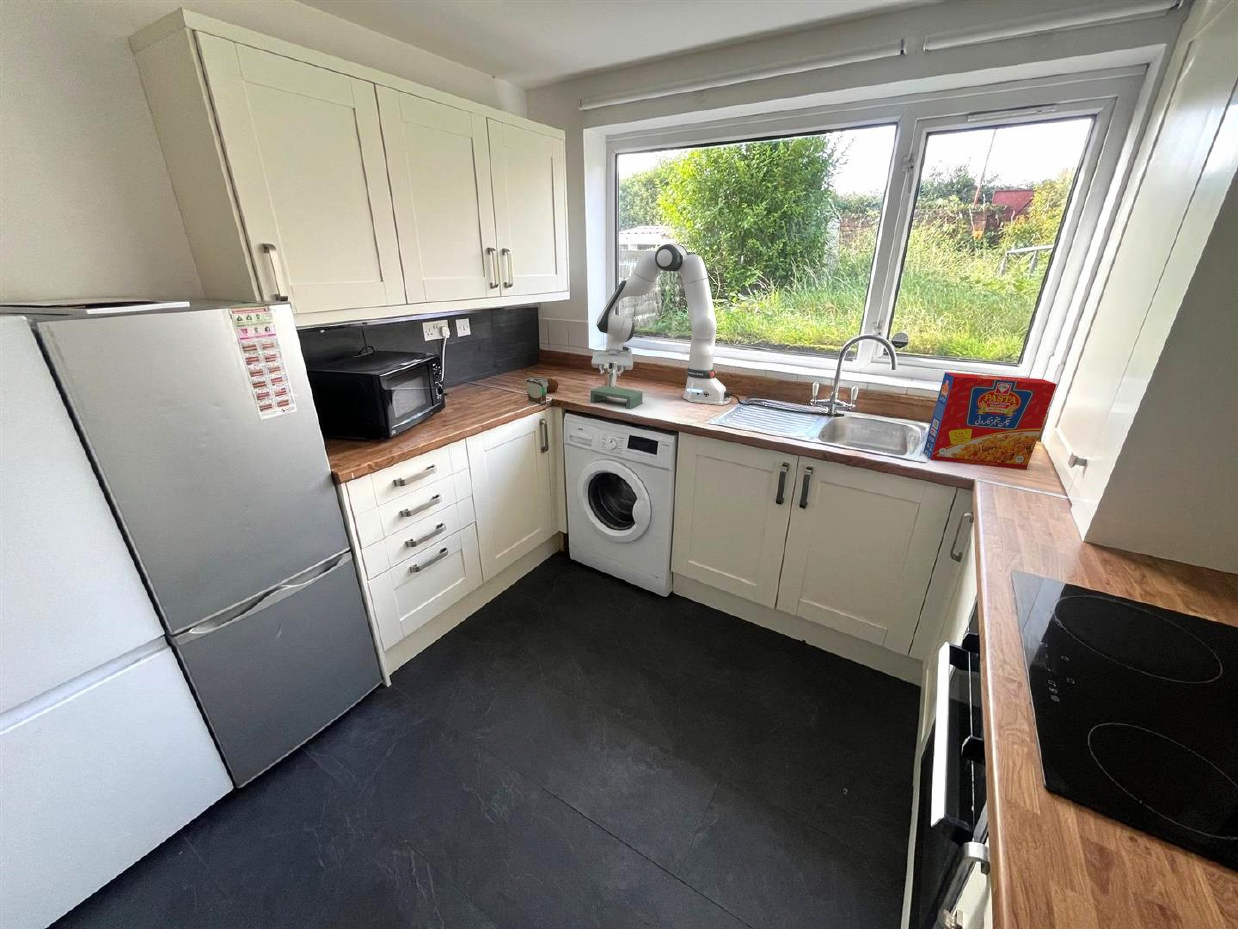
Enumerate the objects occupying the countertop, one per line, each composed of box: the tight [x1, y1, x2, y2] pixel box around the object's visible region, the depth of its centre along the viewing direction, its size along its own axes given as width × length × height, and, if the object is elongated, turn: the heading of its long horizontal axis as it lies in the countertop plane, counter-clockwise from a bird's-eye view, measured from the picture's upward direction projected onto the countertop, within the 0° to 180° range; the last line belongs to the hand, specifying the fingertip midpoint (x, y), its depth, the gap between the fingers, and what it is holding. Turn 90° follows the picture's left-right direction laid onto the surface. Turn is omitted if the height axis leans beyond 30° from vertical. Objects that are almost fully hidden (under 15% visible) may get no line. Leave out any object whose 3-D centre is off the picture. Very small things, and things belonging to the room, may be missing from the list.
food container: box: [525, 377, 548, 406], centre depth 218 cm, size 12×6×10 cm, turn 46°
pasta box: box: [922, 371, 1058, 471], centre depth 162 cm, size 28×8×28 cm, turn 76°
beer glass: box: [602, 360, 619, 387], centre depth 240 cm, size 7×7×15 cm
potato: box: [545, 378, 559, 393], centre depth 238 cm, size 6×12×6 cm, turn 151°
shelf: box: [589, 385, 644, 410], centre depth 222 cm, size 20×12×6 cm, turn 61°
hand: (610, 374), depth 239 cm, fingers closed on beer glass, 7 cm apart
